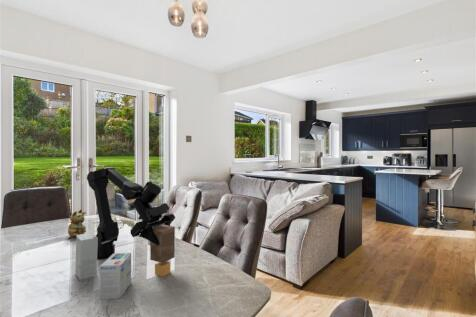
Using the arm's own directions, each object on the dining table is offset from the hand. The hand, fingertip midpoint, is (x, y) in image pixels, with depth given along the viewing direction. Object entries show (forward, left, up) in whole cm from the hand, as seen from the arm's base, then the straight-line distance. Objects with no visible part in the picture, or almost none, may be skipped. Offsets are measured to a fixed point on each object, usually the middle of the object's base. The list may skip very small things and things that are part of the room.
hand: (165, 241), depth 98 cm
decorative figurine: (-49, +65, -12) cm, 82 cm away
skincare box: (-29, +8, -12) cm, 33 cm away
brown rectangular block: (-1, +1, -7) cm, 7 cm away
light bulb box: (-16, -8, -13) cm, 22 cm away
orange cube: (-1, +1, -12) cm, 13 cm away
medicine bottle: (-4, +40, -12) cm, 42 cm away
